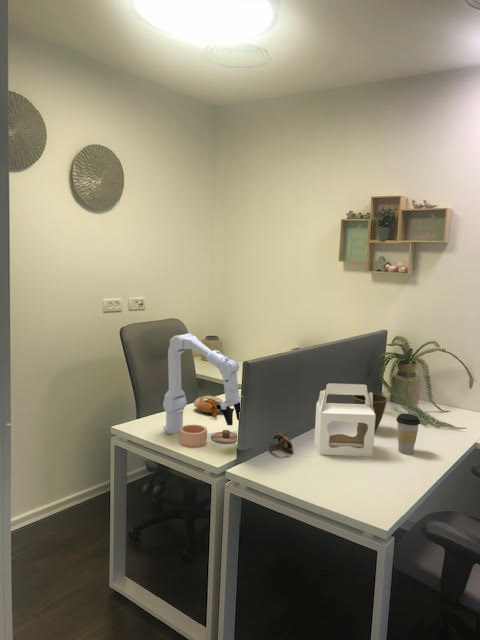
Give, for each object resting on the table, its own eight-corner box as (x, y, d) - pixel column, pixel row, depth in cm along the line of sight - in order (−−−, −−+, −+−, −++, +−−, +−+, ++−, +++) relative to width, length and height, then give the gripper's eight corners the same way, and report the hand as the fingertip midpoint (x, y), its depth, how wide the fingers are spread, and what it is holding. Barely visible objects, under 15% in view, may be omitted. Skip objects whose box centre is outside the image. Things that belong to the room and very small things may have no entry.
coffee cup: (402, 456, 204) (405, 421, 202) (389, 447, 213) (392, 413, 211) (422, 455, 207) (425, 419, 205) (408, 446, 216) (411, 412, 214)
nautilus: (227, 421, 241) (195, 423, 239) (222, 405, 262) (193, 406, 260) (227, 405, 239) (195, 407, 237) (222, 390, 260) (193, 392, 258)
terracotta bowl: (177, 439, 214) (177, 425, 214) (202, 437, 218) (203, 423, 217) (182, 449, 204) (183, 434, 203) (209, 446, 207) (209, 432, 207)
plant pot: (391, 434, 230) (393, 400, 227) (363, 437, 224) (366, 402, 222) (371, 423, 243) (373, 391, 241) (345, 426, 238) (347, 393, 236)
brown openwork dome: (295, 458, 200) (286, 442, 198) (273, 465, 202) (265, 450, 200) (294, 440, 211) (286, 424, 209) (274, 447, 214) (266, 432, 211)
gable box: (365, 444, 216) (369, 380, 213) (373, 456, 203) (378, 389, 200) (313, 442, 216) (317, 378, 213) (318, 454, 203) (322, 387, 200)
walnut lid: (207, 434, 220) (207, 427, 220) (235, 431, 224) (236, 425, 224) (215, 445, 208) (215, 437, 208) (245, 442, 212) (245, 435, 212)
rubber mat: (204, 434, 221) (204, 433, 221) (237, 432, 226) (237, 430, 225) (213, 447, 207) (213, 446, 207) (247, 444, 211) (248, 443, 211)
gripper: (229, 393, 198) (233, 427, 198) (249, 386, 210) (252, 418, 210) (215, 393, 201) (218, 427, 202) (234, 386, 214) (238, 417, 214)
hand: (235, 422), depth 206 cm, fingers open, 7 cm apart
